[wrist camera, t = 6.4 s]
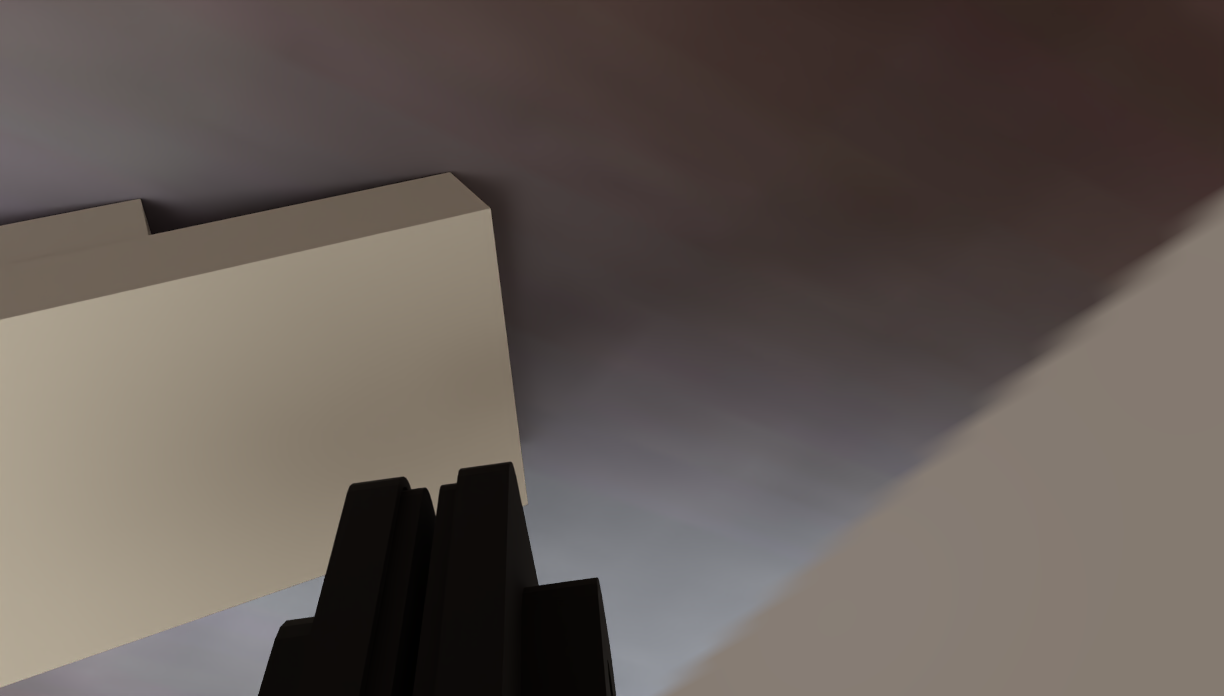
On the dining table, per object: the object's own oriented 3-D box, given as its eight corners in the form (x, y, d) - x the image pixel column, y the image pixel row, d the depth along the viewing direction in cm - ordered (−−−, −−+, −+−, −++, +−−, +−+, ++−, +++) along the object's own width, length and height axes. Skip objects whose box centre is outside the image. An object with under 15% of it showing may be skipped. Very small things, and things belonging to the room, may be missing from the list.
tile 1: (491, 208, 14) (-425, 416, 10) (527, 504, 16) (-193, 753, 13) (450, 172, 15) (-366, 343, 12) (490, 449, 18) (-168, 660, 14)
